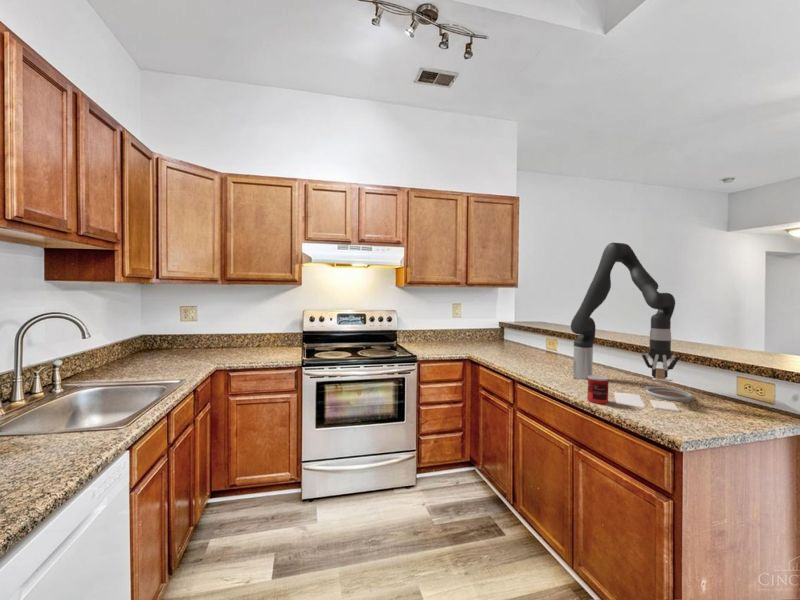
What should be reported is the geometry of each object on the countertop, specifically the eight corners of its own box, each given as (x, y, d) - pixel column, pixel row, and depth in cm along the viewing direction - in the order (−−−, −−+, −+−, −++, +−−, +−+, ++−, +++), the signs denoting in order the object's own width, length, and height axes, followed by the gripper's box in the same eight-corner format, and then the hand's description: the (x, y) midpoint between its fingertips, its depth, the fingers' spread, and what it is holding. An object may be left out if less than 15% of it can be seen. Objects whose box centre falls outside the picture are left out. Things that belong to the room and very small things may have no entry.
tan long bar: (649, 379, 164) (649, 367, 165) (665, 380, 162) (665, 369, 162) (654, 379, 151) (654, 367, 152) (672, 381, 149) (672, 369, 149)
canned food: (596, 398, 160) (596, 374, 160) (612, 404, 153) (613, 378, 153) (583, 400, 158) (583, 375, 157) (599, 406, 150) (599, 380, 150)
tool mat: (616, 404, 152) (616, 403, 152) (613, 393, 169) (613, 392, 169) (645, 408, 148) (645, 407, 148) (639, 395, 164) (639, 394, 164)
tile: (650, 403, 155) (654, 411, 145) (650, 399, 155) (654, 407, 145) (673, 406, 152) (679, 414, 142) (673, 402, 151) (679, 410, 142)
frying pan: (655, 381, 183) (703, 396, 155) (655, 387, 183) (703, 403, 155) (622, 381, 182) (664, 397, 154) (622, 387, 182) (664, 404, 154)
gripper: (678, 338, 158) (677, 378, 159) (639, 336, 165) (639, 374, 165) (682, 340, 152) (681, 381, 152) (642, 338, 158) (641, 378, 159)
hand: (659, 377), depth 159 cm, fingers closed on tan long bar, 2 cm apart
